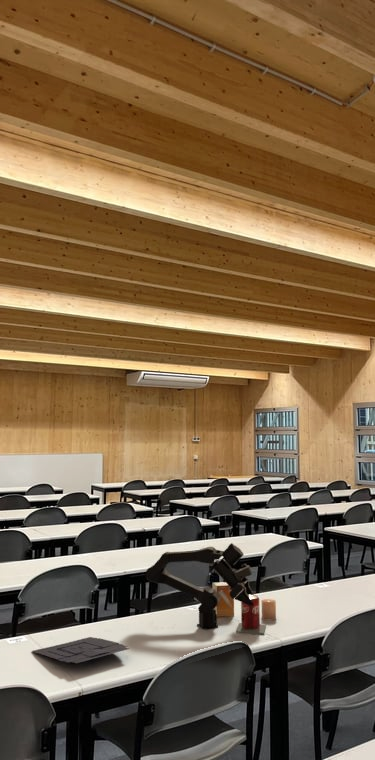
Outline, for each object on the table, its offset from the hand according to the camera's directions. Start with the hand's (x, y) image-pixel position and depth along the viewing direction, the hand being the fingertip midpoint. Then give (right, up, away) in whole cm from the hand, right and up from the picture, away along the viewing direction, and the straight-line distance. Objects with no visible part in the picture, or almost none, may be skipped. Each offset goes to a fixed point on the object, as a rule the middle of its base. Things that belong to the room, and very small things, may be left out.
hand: (254, 602), depth 222 cm
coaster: (-1, -10, -1) cm, 11 cm away
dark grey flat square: (-63, -7, -29) cm, 70 cm away
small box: (-11, -13, +20) cm, 26 cm away
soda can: (-2, -10, -1) cm, 10 cm away
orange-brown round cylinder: (+8, -13, +15) cm, 21 cm away
